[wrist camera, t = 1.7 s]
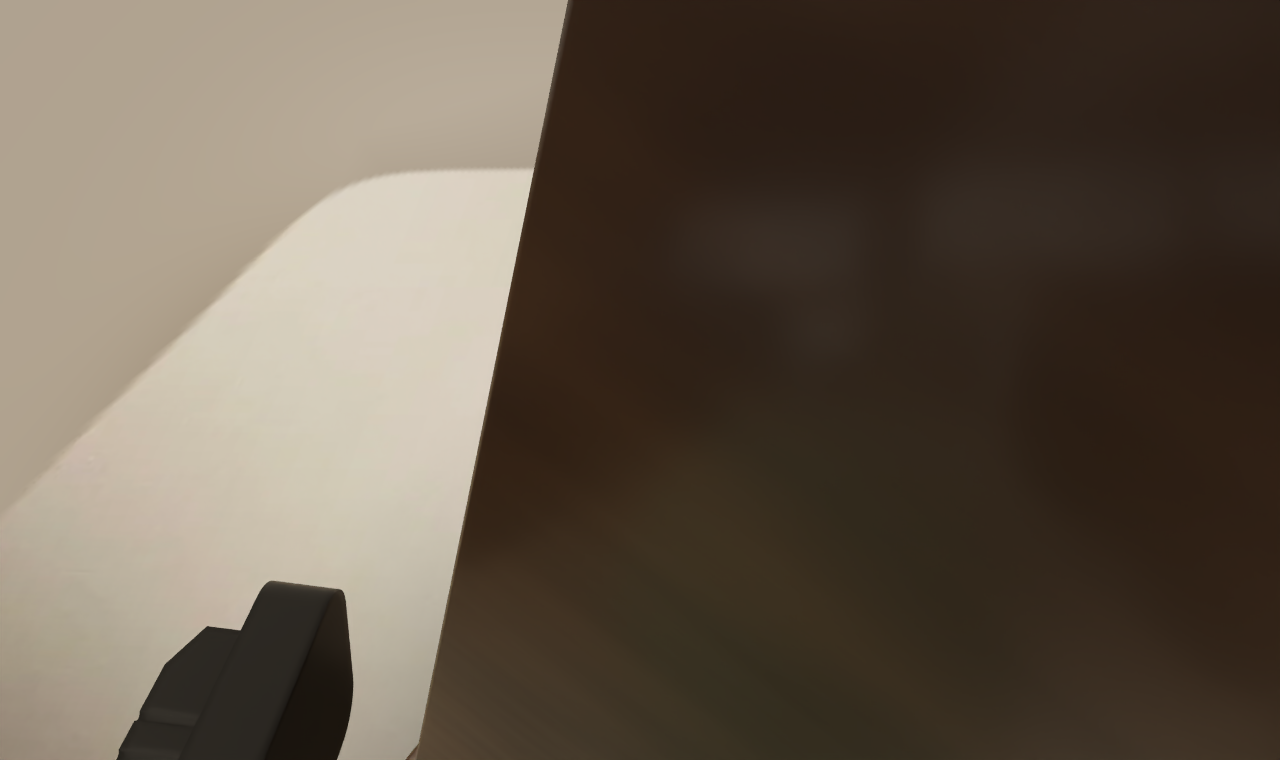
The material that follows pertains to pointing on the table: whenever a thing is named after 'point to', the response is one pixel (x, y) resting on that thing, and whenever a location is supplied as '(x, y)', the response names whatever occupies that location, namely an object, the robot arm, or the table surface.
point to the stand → (884, 392)
